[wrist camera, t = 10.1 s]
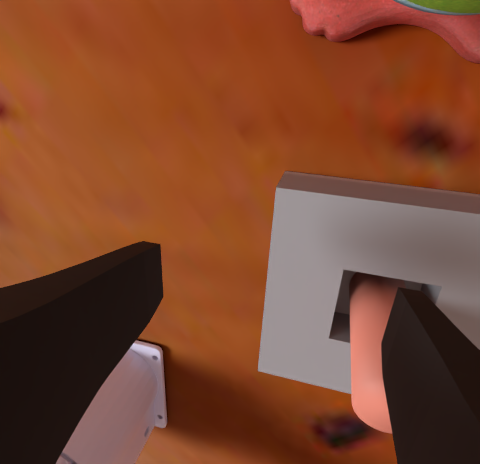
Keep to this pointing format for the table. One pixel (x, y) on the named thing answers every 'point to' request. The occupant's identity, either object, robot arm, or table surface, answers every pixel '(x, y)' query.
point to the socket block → (360, 265)
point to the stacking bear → (395, 19)
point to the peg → (370, 345)
